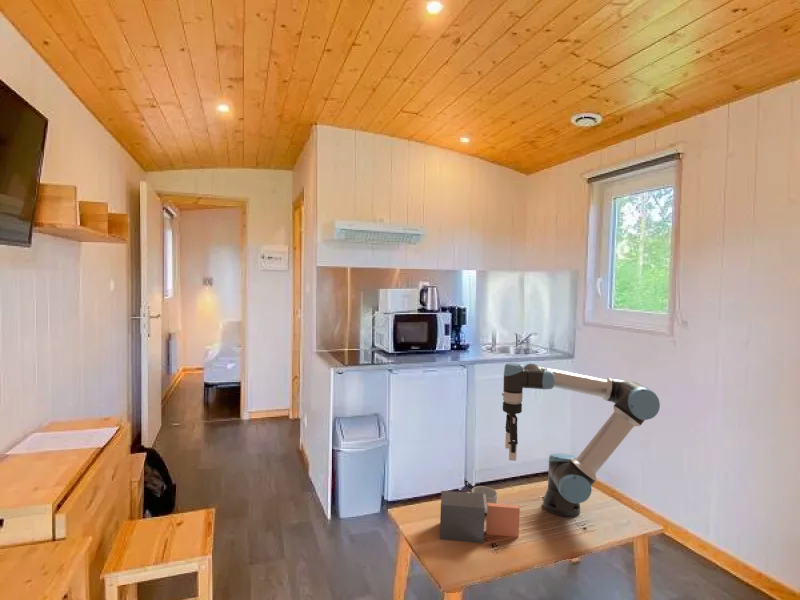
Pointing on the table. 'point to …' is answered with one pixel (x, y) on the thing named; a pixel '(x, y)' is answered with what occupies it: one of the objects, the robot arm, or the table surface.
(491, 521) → the salmon orange rectangular slab
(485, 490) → the teacup
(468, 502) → the block
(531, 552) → the table surface
